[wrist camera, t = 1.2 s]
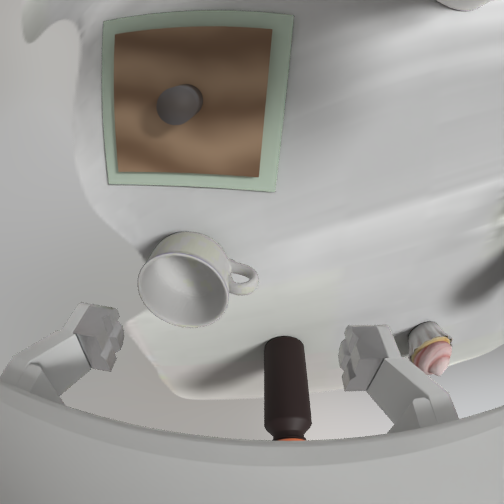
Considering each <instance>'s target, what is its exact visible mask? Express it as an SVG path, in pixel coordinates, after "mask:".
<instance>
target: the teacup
mask: <svg viewBox="0 0 504 504" xmlns="http://www.w3.org/2000/svg"><path fill="white" fill-rule="evenodd" d="M231 273H236V274H240V275H243V276H246V277H248V278H249V279H250V280H249V281H247V282H245V283H236V282H234V281H233V279H232V277H231ZM258 284H259V277H258V274H257V272H256V271H255V270H254V269H253V268H252V267H250V266H248V265H245V264H241V263H237V262H235V261H234V260H232V259H228V257H227V255H226V253H225V251H224V250H223V248H222V247H221V246H220V245H219V244H218V243H217V242H216V241H214V240H213V239H211V238H210V237H208V236H206V235H203V234H200V233H196V232H179V233H175V234H172V235H170V236H168V237H167V238H165V239H164V240H162V241H161V242H160V243H159V244H158V245H157V247H156V248H155V249H154V251H153V252H152V254H151V255H150V257H149V259H148V260H147V262H146V263H145V264H144V266H143V267H142V269H141V270H140V273H139V276H138V291H139V295H140V297H141V299H142V301H143V303H144V304H145V305H146V307H147V308H148V309H149V310H150V311H151V312H152V313H153V314H154V315H155V316H157V317H158V318H160V319H162V320H163V321H165V322H167V323H169V324H172V325H175V326H179V327H185V328H198V327H204V326H207V325H210V324H212V323H214V322H215V321H217V320H218V319H220V318H221V317H222V315H223V314H224V313H225V311H226V309H227V306H228V300H229V293H232V294H235V295H248V294H251V293H252V292H254V291H255V290H256V289H257V287H258Z"/></svg>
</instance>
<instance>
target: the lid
mask: <svg viewBox="0 0 504 504" xmlns="http://www.w3.org/2000/svg"><path fill="white" fill-rule="evenodd" d="M272 30H273V29H265V28H251V27H228V26H197V27H174V28H161V29H150V30H141V31H133V32H126V33H119V34H115V42H114V115H115V135H116V149H117V162H118V172H168V173H196V174H216V175H232V176H246V177H259V170H260V160H261V149H262V138H263V127H264V116H265V105H266V95H267V84H268V73H269V62H270V51H271V41H272Z"/></svg>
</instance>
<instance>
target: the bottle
mask: <svg viewBox="0 0 504 504" xmlns="http://www.w3.org/2000/svg"><path fill="white" fill-rule="evenodd" d="M264 400H265V401H264V419H265V420H264V423H265V424H264V426H265V428H266V430H267V431H268V432H269V433H270V434H271V435H272V436H273V440H272V441H305V440H306V438H304V434H305V432H306V431H307V430H308V429H309V428H310V426H311V424H312V422H311V411H310V401H309V390H308V380H307V371H306V362H305V353H304V346H303V344H302V342H301V341H300V340H298V339H296V338H293V337H287V336H283V337H277V338H275V339H272V340H271V341H269V342H268V343H267V344H266V346H265V349H264Z"/></svg>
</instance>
